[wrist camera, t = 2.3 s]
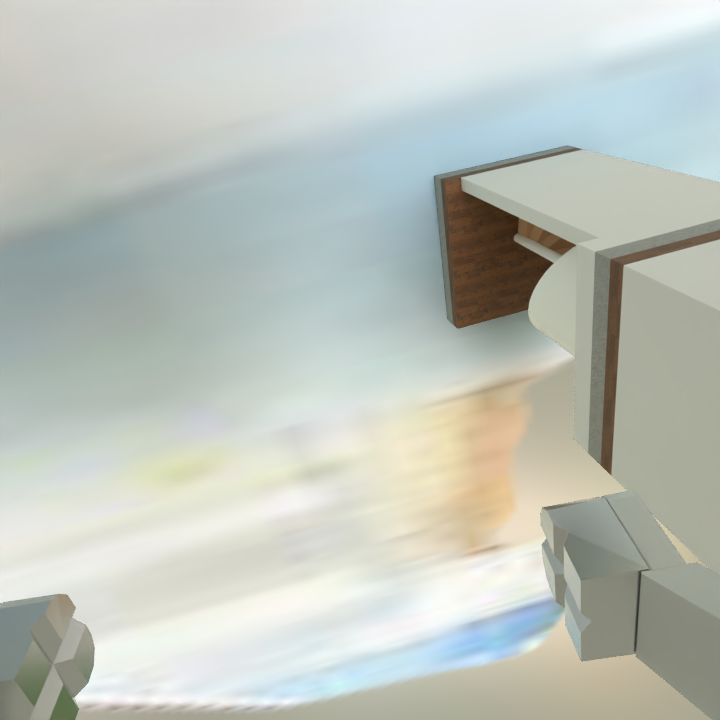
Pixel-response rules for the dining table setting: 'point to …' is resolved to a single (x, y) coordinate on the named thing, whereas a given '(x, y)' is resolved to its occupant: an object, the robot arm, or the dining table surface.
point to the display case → (607, 309)
